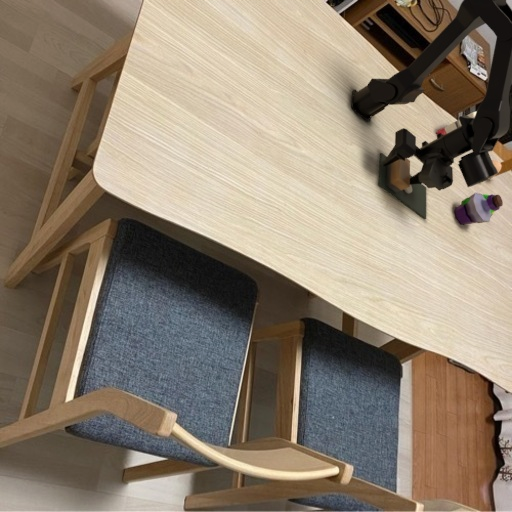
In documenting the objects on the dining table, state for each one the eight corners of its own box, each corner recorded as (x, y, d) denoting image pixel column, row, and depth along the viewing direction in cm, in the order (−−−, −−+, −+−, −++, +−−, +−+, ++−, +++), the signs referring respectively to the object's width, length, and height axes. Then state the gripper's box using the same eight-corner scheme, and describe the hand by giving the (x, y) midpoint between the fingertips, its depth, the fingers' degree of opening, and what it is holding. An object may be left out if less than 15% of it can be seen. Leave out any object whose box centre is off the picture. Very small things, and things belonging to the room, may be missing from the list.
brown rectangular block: (385, 185, 138) (399, 178, 135) (386, 159, 142) (399, 152, 139) (396, 193, 140) (409, 186, 137) (397, 167, 144) (410, 160, 141)
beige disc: (402, 189, 142) (404, 188, 142) (403, 180, 144) (405, 179, 143) (410, 195, 144) (412, 194, 143) (410, 186, 145) (412, 185, 145)
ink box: (443, 147, 165) (480, 128, 157) (435, 131, 165) (472, 111, 157) (454, 142, 171) (491, 124, 163) (447, 127, 171) (483, 108, 163)
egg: (481, 185, 174) (507, 174, 168) (472, 182, 170) (498, 170, 165) (477, 169, 175) (502, 157, 169) (468, 166, 172) (494, 154, 166)
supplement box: (485, 180, 176) (516, 167, 169) (481, 170, 177) (512, 156, 170) (489, 179, 179) (520, 166, 172) (485, 169, 179) (516, 155, 172)
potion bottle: (450, 196, 158) (490, 178, 150) (468, 210, 163) (508, 194, 154) (450, 221, 154) (492, 205, 146) (469, 236, 158) (510, 220, 150)
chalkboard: (378, 185, 137) (380, 184, 136) (379, 153, 142) (381, 152, 141) (424, 219, 145) (426, 218, 145) (424, 188, 150) (426, 187, 150)
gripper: (425, 151, 120) (368, 181, 131) (476, 193, 129) (418, 218, 140) (425, 113, 126) (370, 144, 137) (474, 156, 135) (419, 182, 146)
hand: (395, 174), depth 140 cm, fingers open, 9 cm apart
